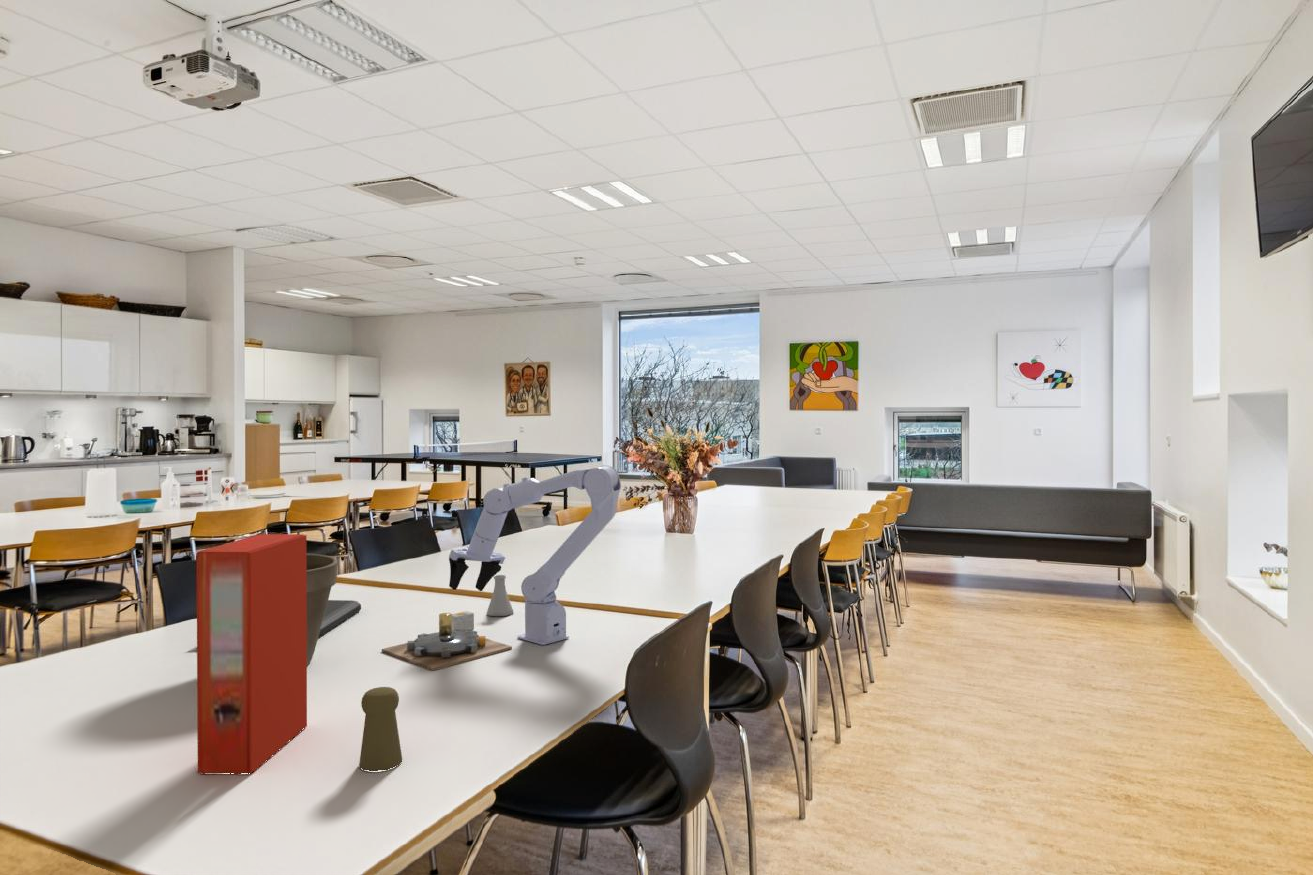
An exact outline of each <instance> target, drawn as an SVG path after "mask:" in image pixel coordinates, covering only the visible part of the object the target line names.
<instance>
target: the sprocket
mask: <svg viewBox="0 0 1313 875" xmlns="http://www.w3.org/2000/svg"><path fill="white" fill-rule="evenodd" d="M438 614H439V615H438V632H432V633H421V634H417V638H415V639H414V640H408V641H407V642H406V643H407V650H414V652H415V656H420V657H421V656H424V655H430V656H441V658H444V657H450V655H455V654H461V653H465V652H469V653H473V652H476V651H478V646H479V645H486V639H487V637H486V635H479V634H478V631H476V630H473V629H472V630H468V631H452V613H451V612H442V613H438Z"/></svg>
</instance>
